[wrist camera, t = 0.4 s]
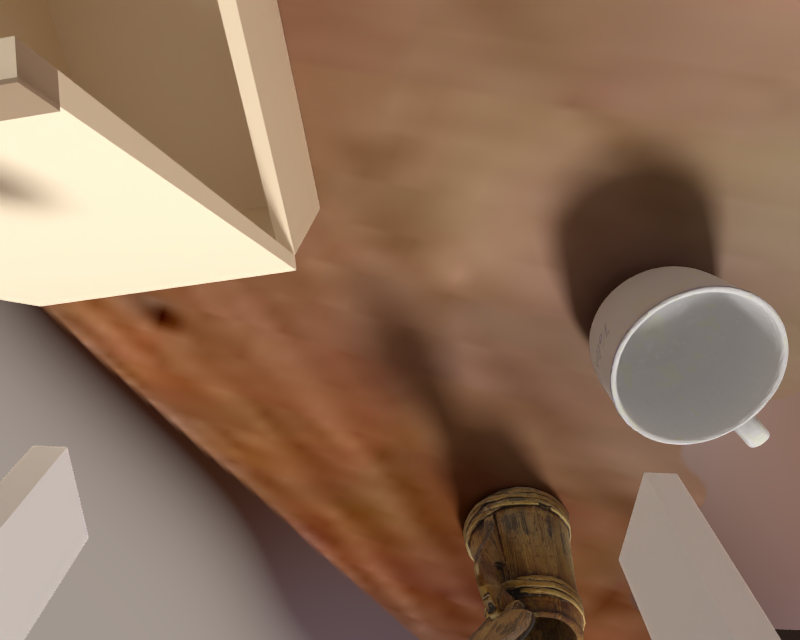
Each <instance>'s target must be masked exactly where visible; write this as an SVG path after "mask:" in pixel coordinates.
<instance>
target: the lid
mask: <svg viewBox="0 0 800 640" xmlns="http://www.w3.org/2000/svg"><path fill="white" fill-rule="evenodd" d="M295 270H296V263H295V255H294V254H292V253H291V252H290V251H288V250H287V249H286V248H285V247H283V246H282V245H281V244H280V243H278V242H277V241H276V240H274V239H273V238H272V237H271V236H269V235H268V234H267V233H266V232H264V231H263V230H262V229H260V228H259V227H258V226H257V225H255V224H254V223H253V222H251V221H250V220H249V219H248V218H246V217H245V216H244V215H243V214H241V213H240V212H239V211H237V210H236V209H235V208H234V207H232V206H231V205H230V204H229V203H227V202H226V201H225V200H223V199H222V198H221V197H220V196H218V195H217V194H216V193H214V192H213V191H212V190H211V189H209V188H208V187H207V186H206V185H204V184H203V183H202V182H200V181H199V180H198V179H197V178H195V177H194V176H193V175H192V174H190V173H189V172H188V171H186V170H185V169H184V168H183V167H181V166H180V165H179V164H177V163H176V162H175V161H174V160H172V159H171V158H170V157H169V156H167V155H166V154H165V153H163V152H162V151H161V150H160V149H158V148H157V147H156V146H154V145H153V144H152V143H151V142H149V141H148V140H147V139H146V138H144V137H143V136H142V135H140V134H139V133H138V132H137V131H135V130H134V129H133V128H132V127H130V126H129V125H128V124H126V123H125V122H124V121H123V120H121V119H120V118H119V117H117V116H116V115H115V114H114V113H112V112H111V111H110V110H109V109H107V108H106V107H105V106H103V105H102V104H101V103H100V102H98V101H97V100H96V99H95V98H93V97H92V96H91V95H89V94H88V93H87V92H86V91H84V90H83V89H82V88H80V87H79V86H78V85H77V84H75V83H74V82H73V81H72V80H70V79H69V78H68V77H66V76H65V75H64V74H63V73H61V72H60V71H59V70H58V69H56V68H55V67H54V66H52V65H51V64H50V63H49V62H47V61H46V60H45V59H43V58H42V57H41V56H40V55H38V54H37V53H36V52H35V51H33V50H32V49H31V48H29V47H28V46H27V45H26V44H24V43H23V42H22V41H21V40H19V39H18V38H17V37H15V36H11V37H5V38H0V300H6V301H12V302H18V303H24V304H30V305H36V306H46V305H53V304H60V303H68V302H75V301H82V300H89V299H96V298H103V297H110V296H117V295H125V294H132V293H139V292H146V291H153V290H160V289H167V288H174V287H182V286H189V285H196V284H203V283H210V282H217V281H224V280H231V279H239V278H246V277H253V276H260V275H267V274H274V273H281V272H288V271H295Z"/></svg>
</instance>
